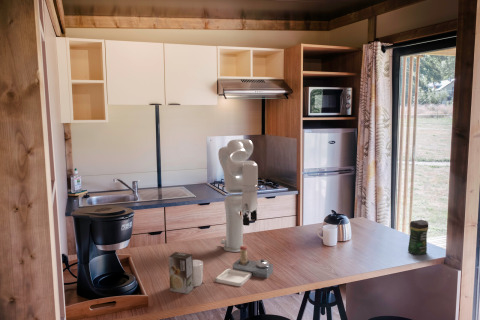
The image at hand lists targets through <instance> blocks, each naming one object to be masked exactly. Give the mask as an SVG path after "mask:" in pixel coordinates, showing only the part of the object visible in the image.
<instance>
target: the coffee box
mask: <svg viewBox="0 0 480 320" xmlns="http://www.w3.org/2000/svg"><path fill="white" fill-rule="evenodd" d="M193 260H194V259H193V254H192V253H186V252H177V251H174V252H173V253H171V254H170V255H169V256H168V273H169V292H174V293H181V294H185V295H187V294H190V292H191V291H192V290H193V289H194V286H193Z"/></svg>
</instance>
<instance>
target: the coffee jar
mask: <svg viewBox="0 0 480 320" xmlns="http://www.w3.org/2000/svg"><path fill="white" fill-rule="evenodd" d="M428 230H429V222H428V221H427V220H424V219H418V220H411V221H410V223H409V241H408V248H407V251H408V252H409V253H410V252H411V253H410V254H412V253H413V255H417V254H419V255H423V254H424V253H425V254H427V253H428V245H427V243H428V242H427V240H428V239H427V237H428V236H427V235H428Z"/></svg>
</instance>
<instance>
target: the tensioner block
mask: <svg viewBox="0 0 480 320" xmlns="http://www.w3.org/2000/svg"><path fill="white" fill-rule="evenodd" d="M232 269H234V270H239V271H244V272H250V273H252V276H251V277H258V278H263V279H268V278H269V277H270V276H271V275H272V274H273V273H274V264H272V263H269V260H267V259H263V258H261V259H258V260H251V259H247V264H246V265H244V264H240V258H238V259H237V260H236V261H235V262H234V263H232Z"/></svg>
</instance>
